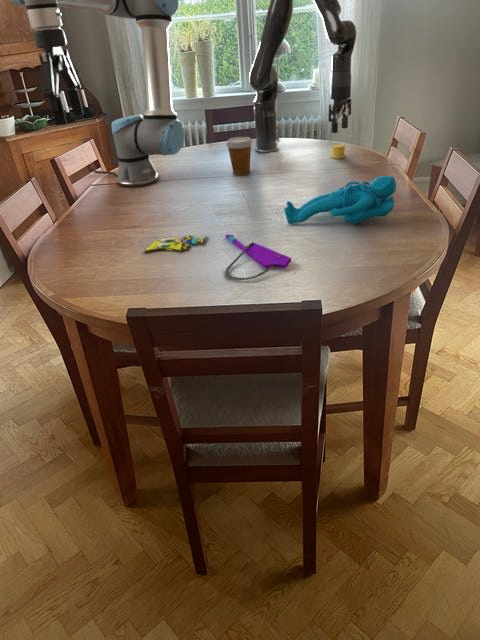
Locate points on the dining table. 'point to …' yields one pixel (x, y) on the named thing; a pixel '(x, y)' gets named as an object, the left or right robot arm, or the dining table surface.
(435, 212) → the dining table surface
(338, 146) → the canister
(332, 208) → the toy
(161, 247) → the toy
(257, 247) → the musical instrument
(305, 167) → the dining table surface
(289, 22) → the right robot arm
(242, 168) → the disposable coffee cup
